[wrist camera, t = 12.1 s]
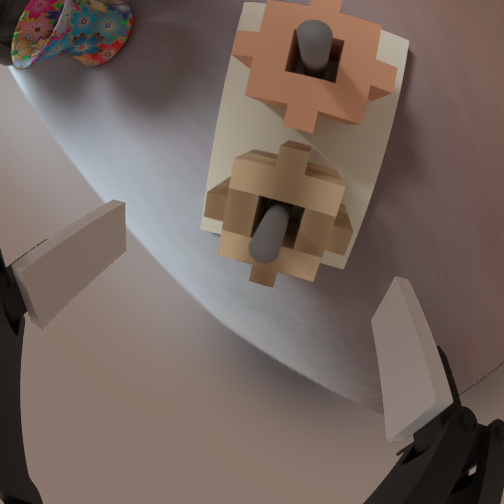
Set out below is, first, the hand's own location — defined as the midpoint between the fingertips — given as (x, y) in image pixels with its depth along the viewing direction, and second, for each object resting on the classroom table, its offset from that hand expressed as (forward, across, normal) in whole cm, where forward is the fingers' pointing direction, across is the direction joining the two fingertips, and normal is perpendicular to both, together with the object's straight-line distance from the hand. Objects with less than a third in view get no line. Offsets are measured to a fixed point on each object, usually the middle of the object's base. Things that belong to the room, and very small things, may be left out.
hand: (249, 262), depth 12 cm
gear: (+12, +1, 0) cm, 12 cm away
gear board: (+13, +1, +6) cm, 14 cm away
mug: (+14, -21, +16) cm, 30 cm away
